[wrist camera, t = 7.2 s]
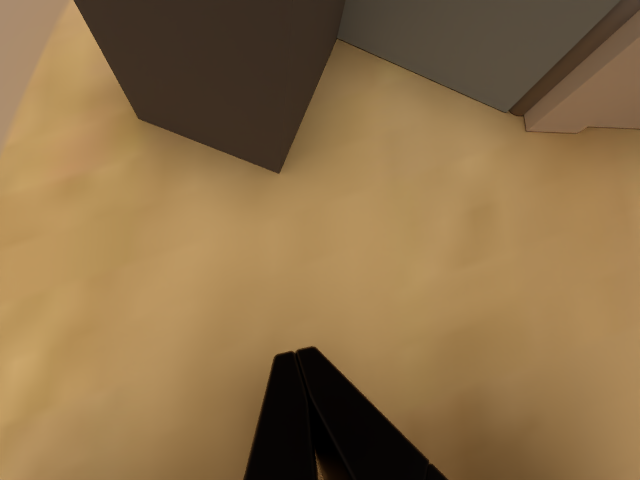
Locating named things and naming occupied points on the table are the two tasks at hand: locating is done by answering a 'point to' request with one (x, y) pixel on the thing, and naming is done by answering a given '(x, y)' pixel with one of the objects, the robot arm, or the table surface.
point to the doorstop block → (219, 66)
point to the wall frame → (596, 89)
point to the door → (486, 41)
